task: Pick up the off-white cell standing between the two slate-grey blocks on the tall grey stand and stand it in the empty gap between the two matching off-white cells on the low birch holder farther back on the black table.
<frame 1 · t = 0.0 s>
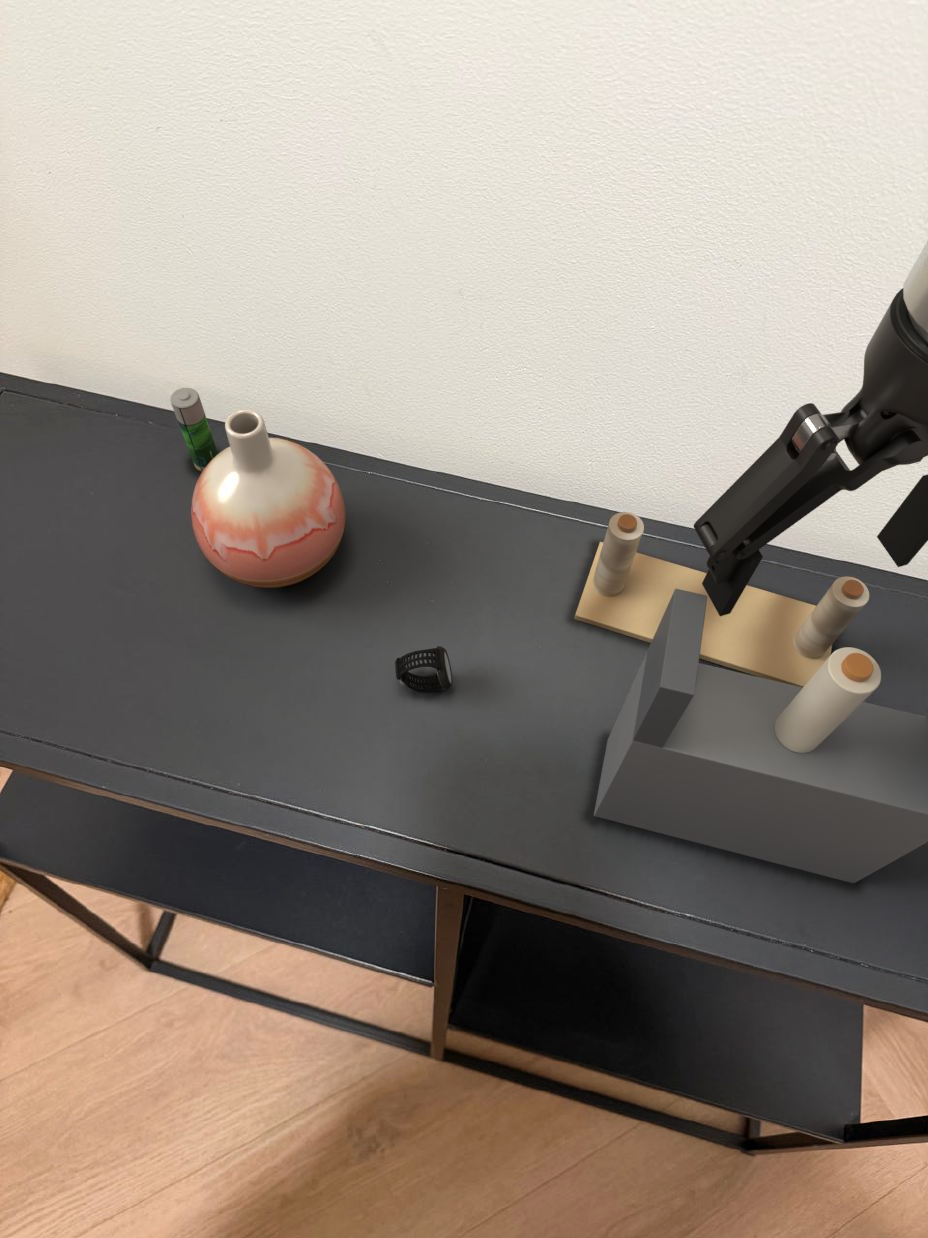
hand: (805, 574, 57), 20 cm above the table, tool pointing down, fingers open, 13 cm apart
battery: (207, 464, 87), on the table
smartwatch: (426, 682, 75), on the table
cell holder: (704, 617, 79), on the table
grey stand: (725, 808, 69), on the table
white cell: (796, 732, 55), point 16 cm above the table, touching grey stand
vase: (280, 552, 81), on the table
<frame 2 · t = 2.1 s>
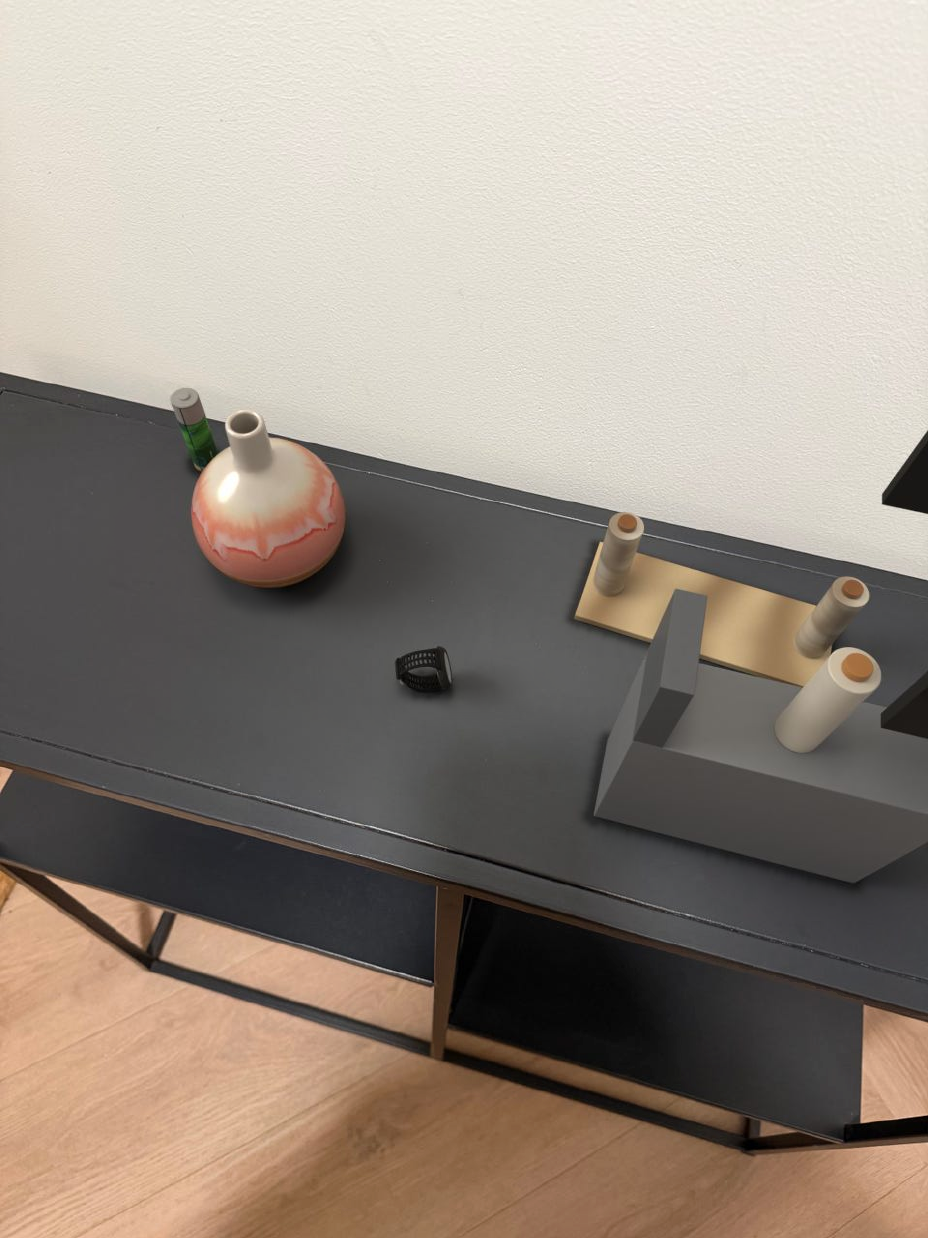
hand: (908, 607, 42), 31 cm above the table, tool pointing down, fingers open, 13 cm apart
nothing on the table moved.
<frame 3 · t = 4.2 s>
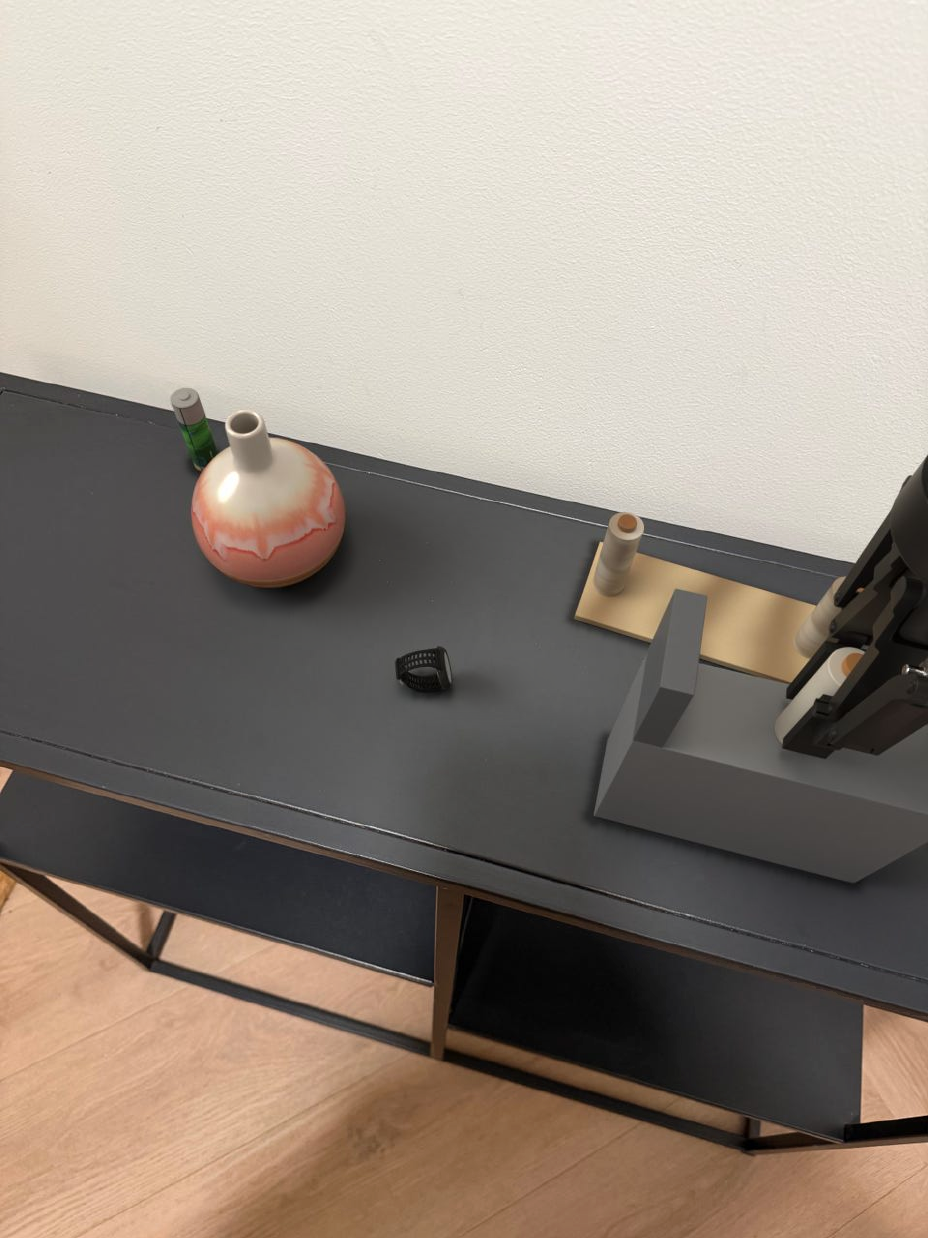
hand: (805, 722, 54), 18 cm above the table, tool pointing down, fingers closed on white cell, 3 cm apart
white cell: (796, 732, 55), point 16 cm above the table, touching grey stand, gripper
everything else where it was.
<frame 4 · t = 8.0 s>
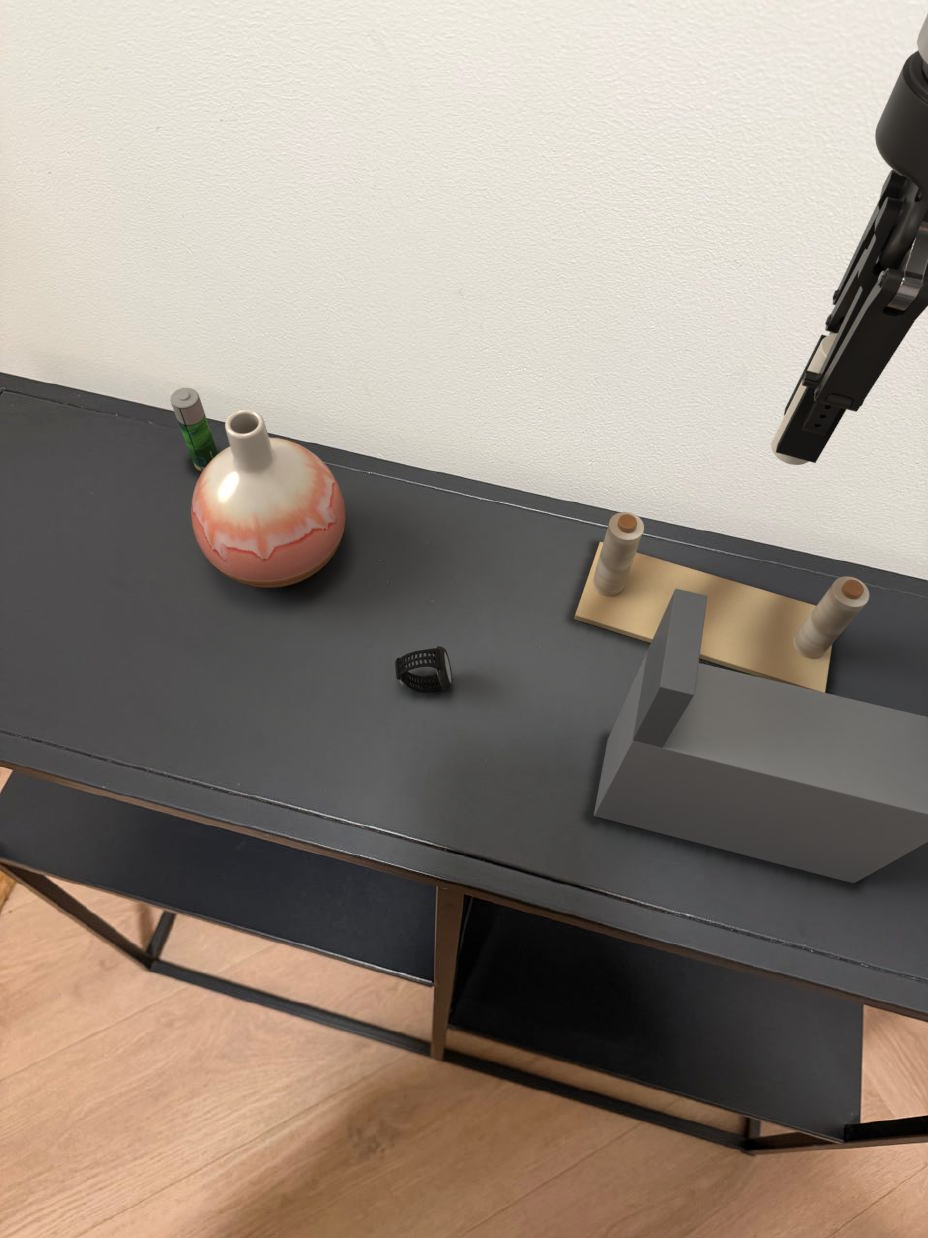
hand: (800, 434, 58), 24 cm above the table, tool pointing down, fingers closed on white cell, 3 cm apart
white cell: (792, 449, 59), point 23 cm above the table, touching gripper
everything else where it was.
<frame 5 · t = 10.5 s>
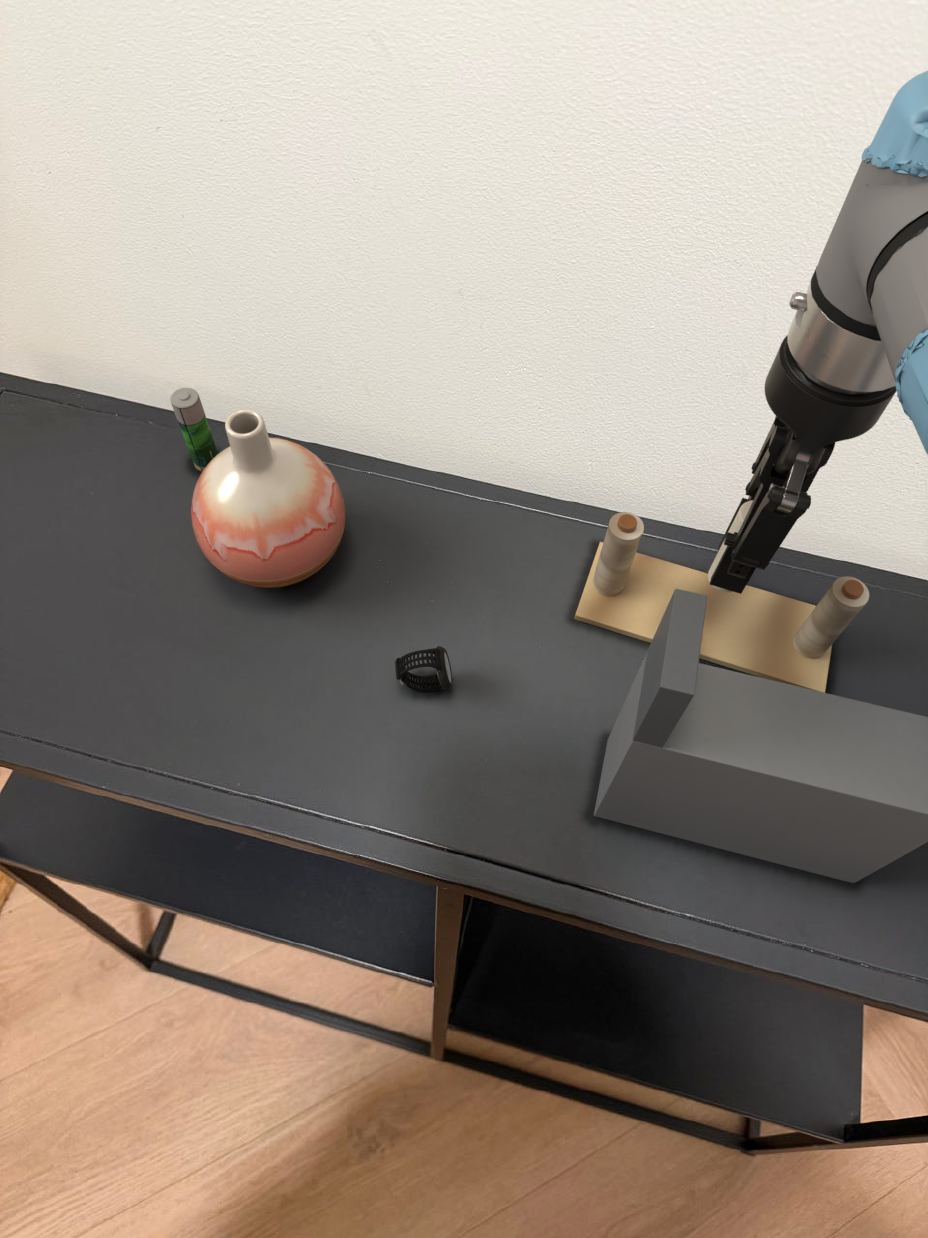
hand: (730, 568, 72), 8 cm above the table, tool pointing down, fingers closed on white cell, 3 cm apart
white cell: (724, 578, 73), point 7 cm above the table, touching gripper
everything else where it was.
when the fingers open (2 cm above the table, at t = 12.1 s): white cell stays where it is, resting on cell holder.
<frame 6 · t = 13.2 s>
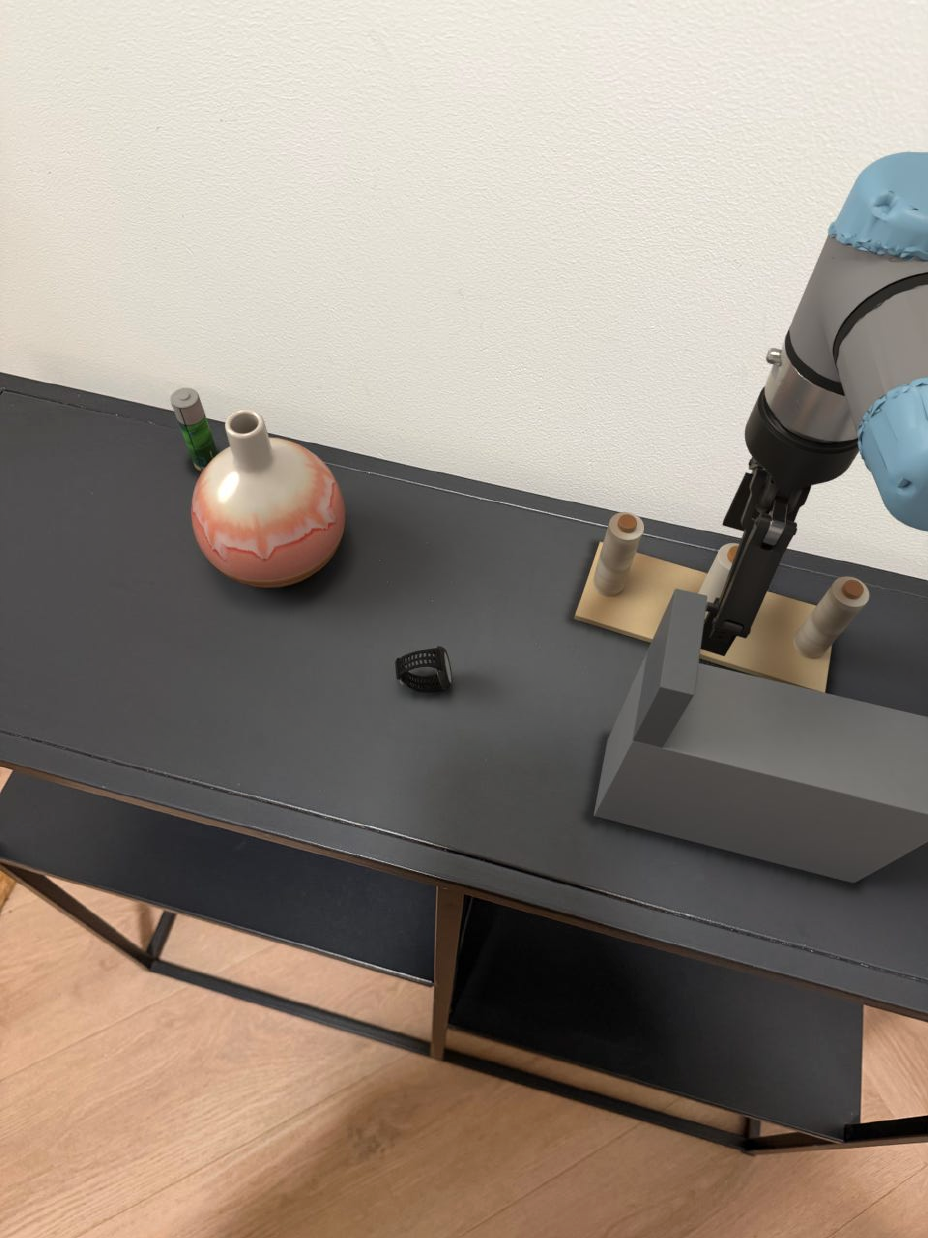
hand: (723, 584, 73), 6 cm above the table, tool pointing down, fingers open, 13 cm apart
white cell: (706, 612, 78), point 1 cm above the table, touching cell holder
everything else where it was.
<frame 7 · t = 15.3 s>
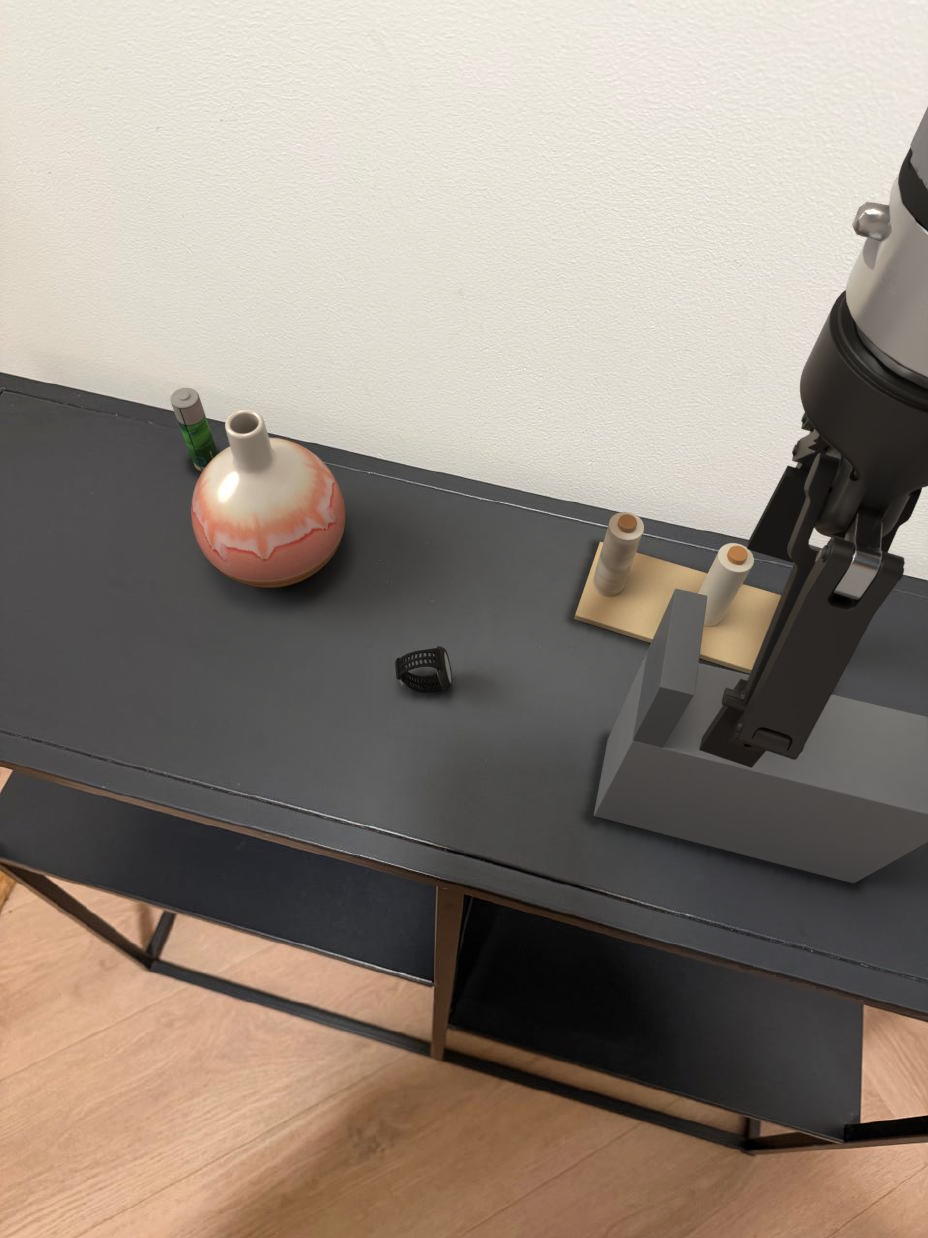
hand: (749, 644, 46), 27 cm above the table, tool pointing down, fingers open, 13 cm apart
nothing on the table moved.
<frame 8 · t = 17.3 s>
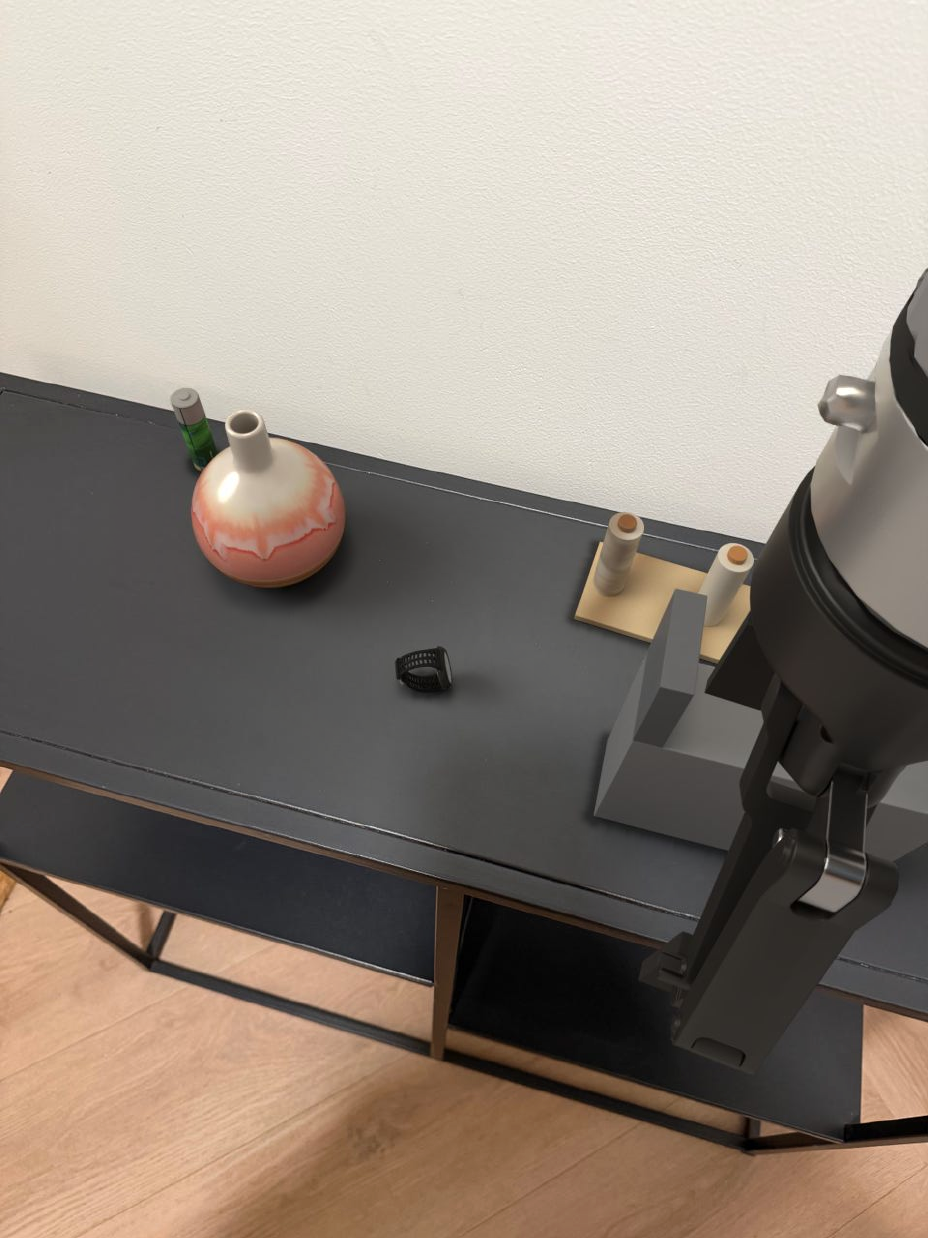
hand: (705, 826, 37), 31 cm above the table, tool pointing down, fingers open, 13 cm apart
nothing on the table moved.
at the end: white cell 0.1 cm off-centre on the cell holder, point 0.8 cm above the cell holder's base; white cell tilted 0°; the gripper is holding nothing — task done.
